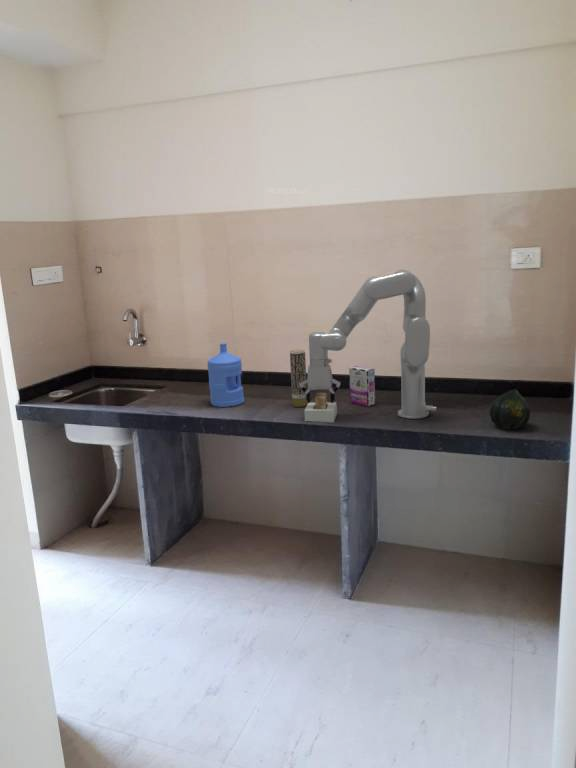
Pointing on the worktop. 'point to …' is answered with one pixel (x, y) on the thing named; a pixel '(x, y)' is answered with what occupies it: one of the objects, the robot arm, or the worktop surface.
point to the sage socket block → (321, 413)
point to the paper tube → (298, 377)
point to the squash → (510, 410)
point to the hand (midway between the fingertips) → (320, 402)
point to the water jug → (225, 379)
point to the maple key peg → (321, 400)
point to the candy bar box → (362, 385)
